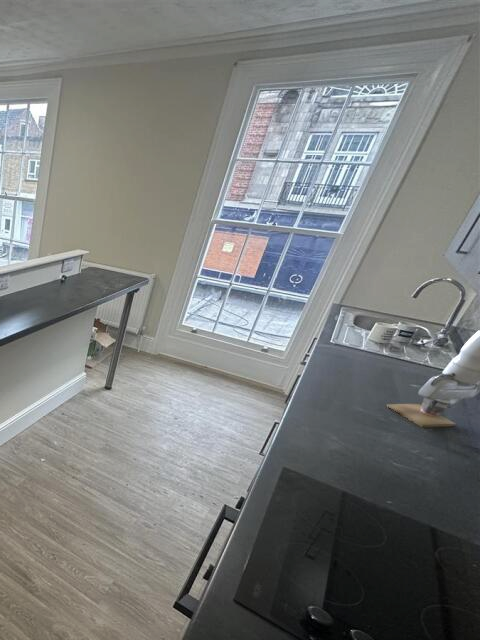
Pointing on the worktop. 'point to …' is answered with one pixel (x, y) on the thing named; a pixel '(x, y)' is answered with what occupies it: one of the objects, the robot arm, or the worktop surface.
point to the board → (420, 415)
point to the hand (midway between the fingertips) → (435, 407)
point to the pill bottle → (437, 407)
